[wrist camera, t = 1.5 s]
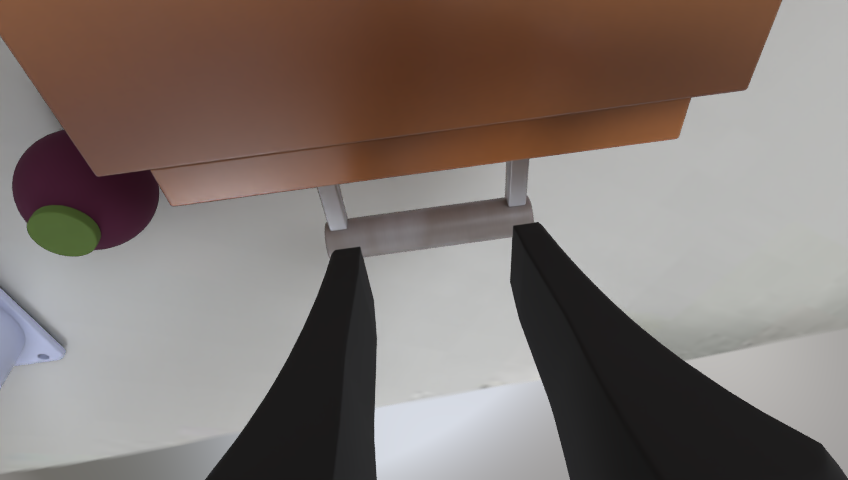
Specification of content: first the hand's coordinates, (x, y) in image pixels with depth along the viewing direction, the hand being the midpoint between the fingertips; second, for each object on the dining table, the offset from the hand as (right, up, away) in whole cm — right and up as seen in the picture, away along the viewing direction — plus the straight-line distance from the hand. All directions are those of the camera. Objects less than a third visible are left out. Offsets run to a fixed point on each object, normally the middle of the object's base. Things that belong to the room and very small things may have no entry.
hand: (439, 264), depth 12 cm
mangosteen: (-13, +4, +7) cm, 15 cm away
